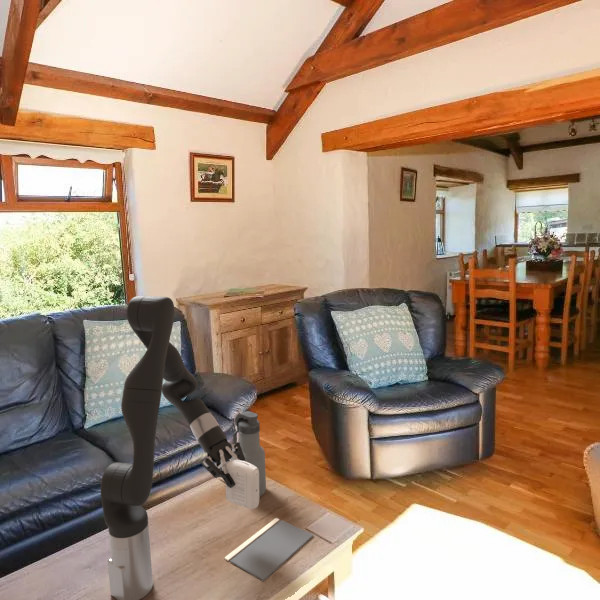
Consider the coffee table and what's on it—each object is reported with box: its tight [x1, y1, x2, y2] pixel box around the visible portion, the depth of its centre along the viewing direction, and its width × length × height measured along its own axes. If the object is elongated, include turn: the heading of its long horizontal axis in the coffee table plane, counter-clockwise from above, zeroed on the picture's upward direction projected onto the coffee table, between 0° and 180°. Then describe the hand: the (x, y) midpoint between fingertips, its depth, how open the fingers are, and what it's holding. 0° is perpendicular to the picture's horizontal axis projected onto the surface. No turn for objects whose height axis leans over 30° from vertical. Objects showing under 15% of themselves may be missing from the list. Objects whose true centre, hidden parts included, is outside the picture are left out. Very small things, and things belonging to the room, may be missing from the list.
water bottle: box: [232, 410, 267, 498], centre depth 161 cm, size 10×10×28 cm
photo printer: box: [225, 460, 260, 510], centre depth 136 cm, size 10×4×12 cm, turn 61°
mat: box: [224, 517, 314, 582], centre depth 135 cm, size 22×14×1 cm, turn 143°
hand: (239, 482), depth 136 cm, fingers closed on photo printer, 4 cm apart
